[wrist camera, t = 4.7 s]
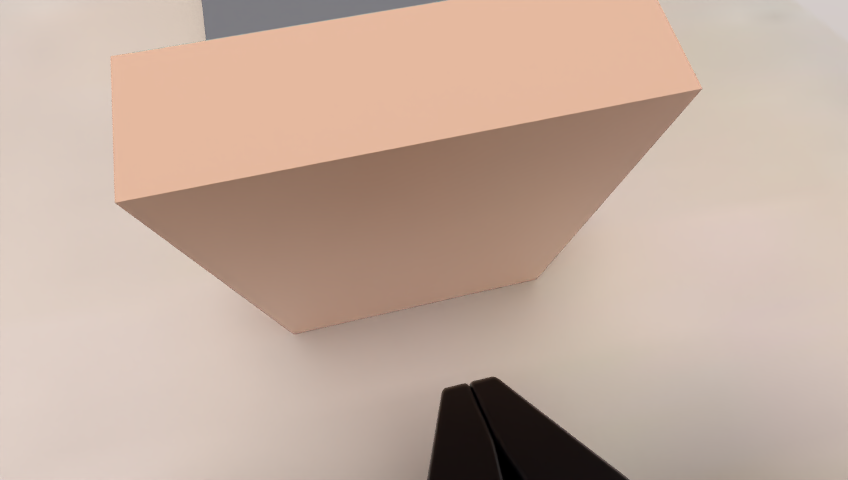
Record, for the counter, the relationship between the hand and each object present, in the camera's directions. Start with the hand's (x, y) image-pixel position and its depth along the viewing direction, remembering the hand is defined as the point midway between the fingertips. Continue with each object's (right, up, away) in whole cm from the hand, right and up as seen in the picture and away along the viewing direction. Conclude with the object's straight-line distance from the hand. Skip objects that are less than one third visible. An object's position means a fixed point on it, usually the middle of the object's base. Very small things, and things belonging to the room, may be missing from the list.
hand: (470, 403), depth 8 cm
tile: (-1, +2, +9) cm, 9 cm away
